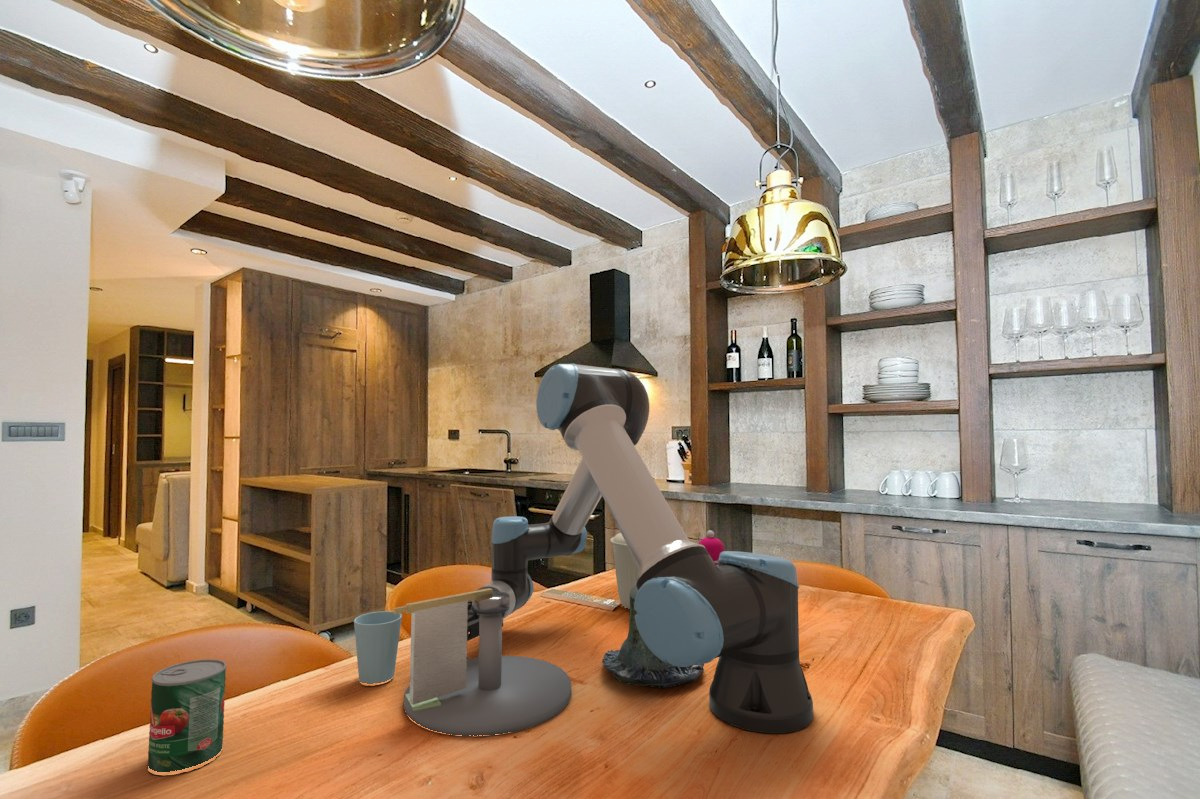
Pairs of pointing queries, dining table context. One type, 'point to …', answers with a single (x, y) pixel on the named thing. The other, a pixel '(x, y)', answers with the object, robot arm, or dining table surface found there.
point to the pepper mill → (712, 546)
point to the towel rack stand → (444, 640)
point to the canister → (624, 569)
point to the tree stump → (645, 661)
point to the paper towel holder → (496, 691)
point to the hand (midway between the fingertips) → (422, 647)
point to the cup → (377, 645)
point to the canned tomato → (186, 714)
